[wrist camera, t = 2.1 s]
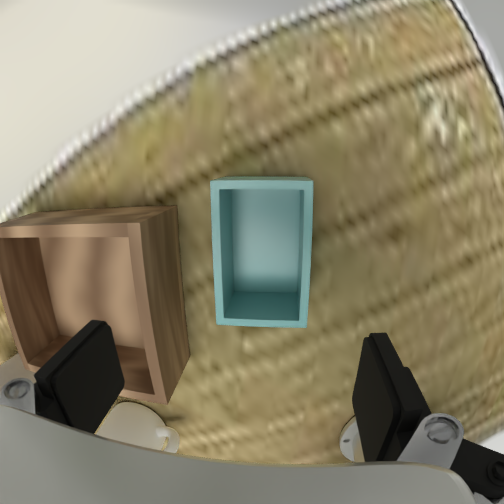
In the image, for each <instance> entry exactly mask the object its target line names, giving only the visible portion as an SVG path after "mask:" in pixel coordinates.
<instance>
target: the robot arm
mask: <svg viewBox="0 0 504 504" xmlns="http://www.w3.org/2000/svg"><path fill="white" fill-rule="evenodd" d="M34 377H35V380H36V382H35V383H34V384H33V382H32V381H31V380H29V379H27V378H16V379H13V380H11V381H9V382H7V383H6V384H5V385H4V386H3V388H2V389H1V393H0V504H504V454H501V453H498V452H496V451H493V450H490V449H488V448H485V447H483V446H480V445H478V444H475V443H473V442H470V441H468V440H466V439H463V435H464V429H463V426H462V424H461V423H460V421H458V420H457V419H456V418H455V417H453V416H451V415H448V414H444V413H435V414H431V411H430V409H429V407H428V405H427V403H426V401H425V399H424V397H423V395H422V393H421V391H420V389H419V387H418V385H417V383H416V381H415V379H414V377H413V375H412V373H411V371H410V369H409V368H408V367H404V366H403V364H402V362H401V360H400V358H399V356H398V354H397V352H396V351H395V349H394V347H393V345H392V343H391V341H390V339H389V337H388V335H387V334H386V333H370V335H369V337H365V338H364V341H363V346H362V352H361V357H360V362H359V367H358V372H357V377H356V382H355V386H354V391H353V396H352V403H353V408H354V413H355V417H353V418H352V419H351V420H350V421H349V422H348V423H347V424H346V425H345V427H344V428H343V430H342V432H341V434H340V437H339V445H340V450H341V452H342V454H343V455H344V456H345V457H346V458H347V459H349V460H351V461H353V462H355V463H336V464H271V463H253V462H239V461H229V460H219V459H211V458H203V457H196V456H189V455H183V454H177V453H171V452H166V451H161V450H156V449H151V448H146V447H142V446H137V445H133V444H129V443H125V442H121V441H117V440H113V439H110V438H106V437H102V436H99V435H95V434H94V433H95V431H96V430H97V428H98V427H99V425H100V424H101V422H102V420H103V419H104V417H105V416H106V414H107V413H108V411H109V410H110V408H111V407H112V405H113V403H114V402H115V400H116V399H117V397H118V396H119V394H120V393H121V391H122V390H123V388H124V385H125V380H124V376H123V372H122V369H121V365H120V361H119V358H118V354H117V350H116V346H115V342H114V338H113V333H112V329H111V327H110V326H109V325H108V324H107V322H106V321H101V320H91V321H90V322H88V323H87V324H86V325H85V326H84V327H83V328H82V329H81V330H80V331H79V332H78V333H77V334H76V335H74V336H73V337H72V338H71V339H70V340H69V341H68V342H67V343H66V344H65V345H64V346H63V347H62V348H61V349H60V350H59V351H58V352H57V353H56V354H54V355H53V356H52V357H51V358H50V359H49V360H48V361H47V362H46V363H45V364H44V365H43V366H42V367H41V368H40V369H39V370H38V371H37V372H36V373H35V374H34Z"/></svg>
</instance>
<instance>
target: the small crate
mask: <svg viewBox="0 0 504 504" xmlns="http://www.w3.org/2000/svg"><path fill="white" fill-rule="evenodd" d="M210 188H211V221H212V248H213V270H214V289H215V307H216V323H217V325H235V326H258V327H293V328H307V315H308V301H309V285H310V267H311V246H312V218H313V181H312V180H311V179H309V178H308V177H283V176H232V177H222V178H219V179H215V180H211V181H210Z"/></svg>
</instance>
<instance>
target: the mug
mask: <svg viewBox="0 0 504 504" xmlns="http://www.w3.org/2000/svg"><path fill="white" fill-rule="evenodd" d="M96 435H99V436H102V437H106V438H110V439H113V440H117V441H121V442H125V443H129V444H133V445H137V446H142V447H146V448H151V449H156V450H161V449H162V447H163V444H164V442H165V439H166V436H167V437H169V441H168V444H167V446H166V448H165V449H164V450H163V451H166V452H171V453H176V452H177V450H178V447H179V442H180V438H179V435H178V433H177V431H176V430H175V429H173V428H171V427H168V426H165V424H164V422H163V421H162V419H161V418H160V417H159V416H158V415H157V414H156V413H155V412H153V411H152V410H151V409H149V408H147V407H145V406H143V405H140V404H137V403H133V402H122V403H119V404H117V405H116V406H115V407H114V408H113V409H112V410H111V412H110V413H109V415H108V416H107V418H106V420H105V421H104V423H103V424H102V426H101V427H100V429H99V431H98V432H97V434H96Z"/></svg>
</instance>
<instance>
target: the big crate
mask: <svg viewBox="0 0 504 504" xmlns="http://www.w3.org/2000/svg"><path fill="white" fill-rule="evenodd" d="M0 295H1V299H2V303H3V306H4V310H5V313H6V317H7V320H8V323H9V326H10V329H11V332H12V335H13V338H14V341H15V344H16V347H17V350H18V352H19V355H20V358H21V360H22V363H23V365H24V368H25V369H26V370H29V371H32V372H35V373H36V372H37V371H38V370H39V369H40V368H41V367H42V366H43V365H44V364H45V363H46V362H47V361H48V360H49V359H50V358H51V357H52V356H53V355H54V354H56V353H57V352H58V351H59V350H60V349H61V348H62V347H63V346H64V345H65V344H66V343H67V342H68V341H69V340H70V339H71V338H72V337H73V336H74V335H76V334H77V333H78V332H79V331H80V330H81V329H82V328H83V327H84V326H85V325H86V324H87V323H88V322H90V321H91V320H101V321H106V322H107V324H108V325H109V326H110V327H111V329H112V333H113V338H114V342H115V346H116V350H117V354H118V358H119V361H120V365H121V369H122V372H123V376H124V380H125V385H124V388H123V390H122V391H121V393H120V394H119V396H123V397H128V398H133V399H138V400H143V401H148V402H154V403H160V404H166V405H168V403H169V401H170V398H171V396H172V394H173V392H174V390H175V388H176V385H177V383H178V381H179V379H180V377H181V375H182V373H183V370H184V368H185V366H186V364H187V362H188V360H189V358H190V351H189V343H188V334H187V325H186V316H185V306H184V296H183V285H182V273H181V261H180V247H179V231H178V213H177V206H144V207H117V208H95V209H77V210H60V211H46V212H35V213H32V214H28V215H25V216H22V217H19V218H15V219H12V220H9V221H6V222H3V223H0Z"/></svg>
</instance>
